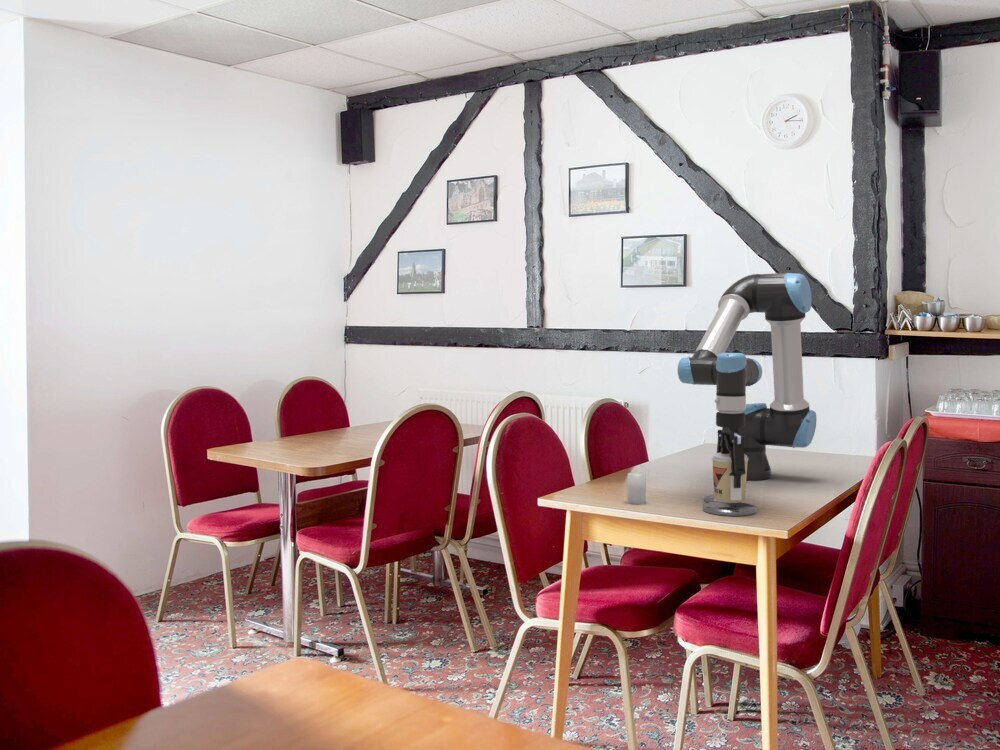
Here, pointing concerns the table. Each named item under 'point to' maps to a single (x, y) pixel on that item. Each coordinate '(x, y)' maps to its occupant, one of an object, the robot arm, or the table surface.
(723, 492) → the coffee cup
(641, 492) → the grey cylinder
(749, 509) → the disc
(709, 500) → the flange small
